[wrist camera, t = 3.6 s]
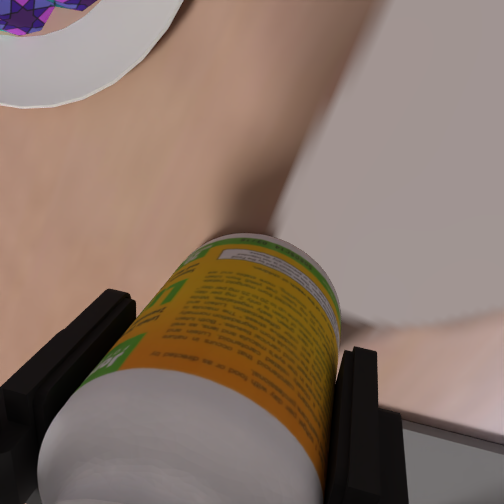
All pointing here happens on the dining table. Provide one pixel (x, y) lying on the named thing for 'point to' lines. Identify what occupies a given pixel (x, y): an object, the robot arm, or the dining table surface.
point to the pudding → (75, 48)
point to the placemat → (451, 467)
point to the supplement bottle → (209, 389)
